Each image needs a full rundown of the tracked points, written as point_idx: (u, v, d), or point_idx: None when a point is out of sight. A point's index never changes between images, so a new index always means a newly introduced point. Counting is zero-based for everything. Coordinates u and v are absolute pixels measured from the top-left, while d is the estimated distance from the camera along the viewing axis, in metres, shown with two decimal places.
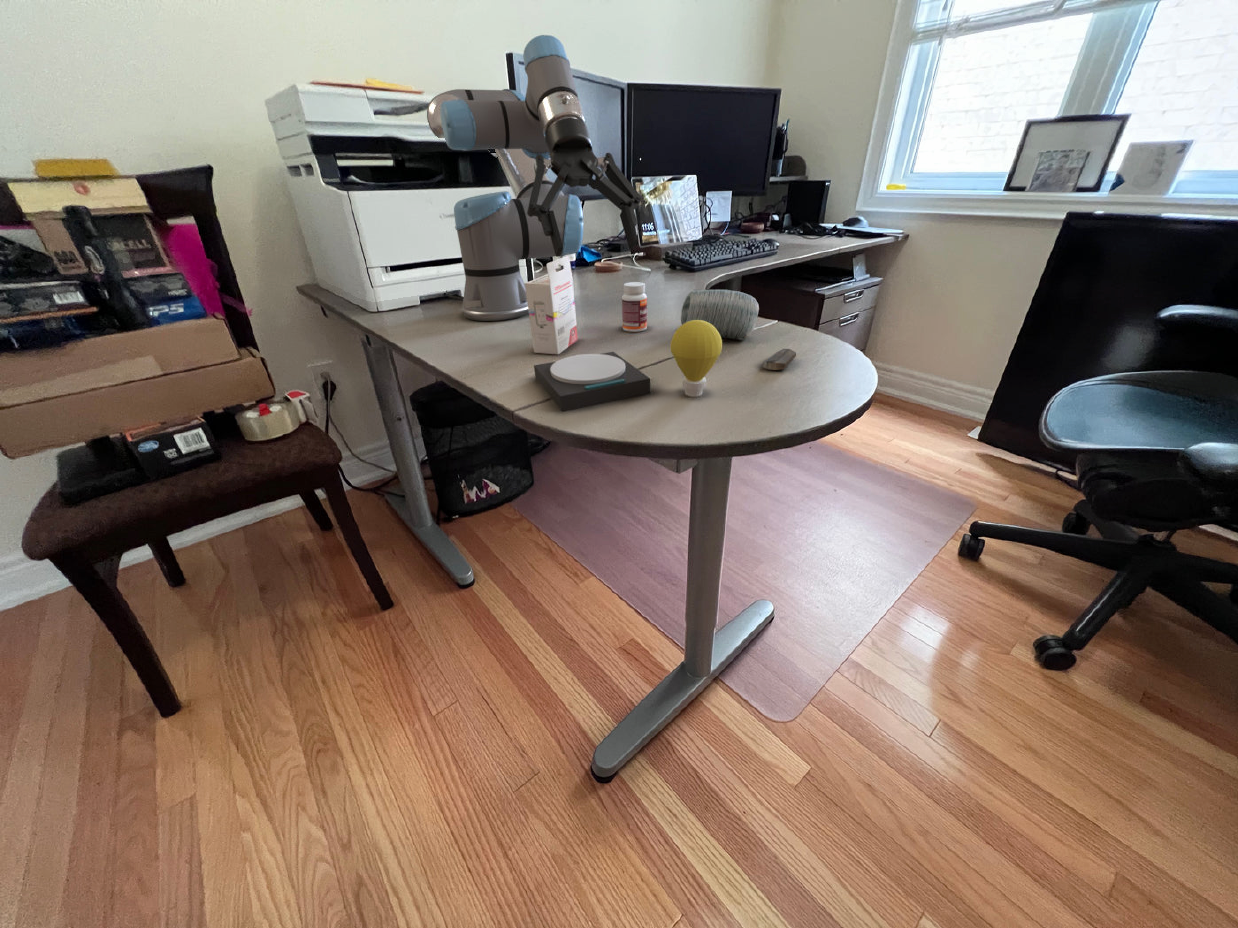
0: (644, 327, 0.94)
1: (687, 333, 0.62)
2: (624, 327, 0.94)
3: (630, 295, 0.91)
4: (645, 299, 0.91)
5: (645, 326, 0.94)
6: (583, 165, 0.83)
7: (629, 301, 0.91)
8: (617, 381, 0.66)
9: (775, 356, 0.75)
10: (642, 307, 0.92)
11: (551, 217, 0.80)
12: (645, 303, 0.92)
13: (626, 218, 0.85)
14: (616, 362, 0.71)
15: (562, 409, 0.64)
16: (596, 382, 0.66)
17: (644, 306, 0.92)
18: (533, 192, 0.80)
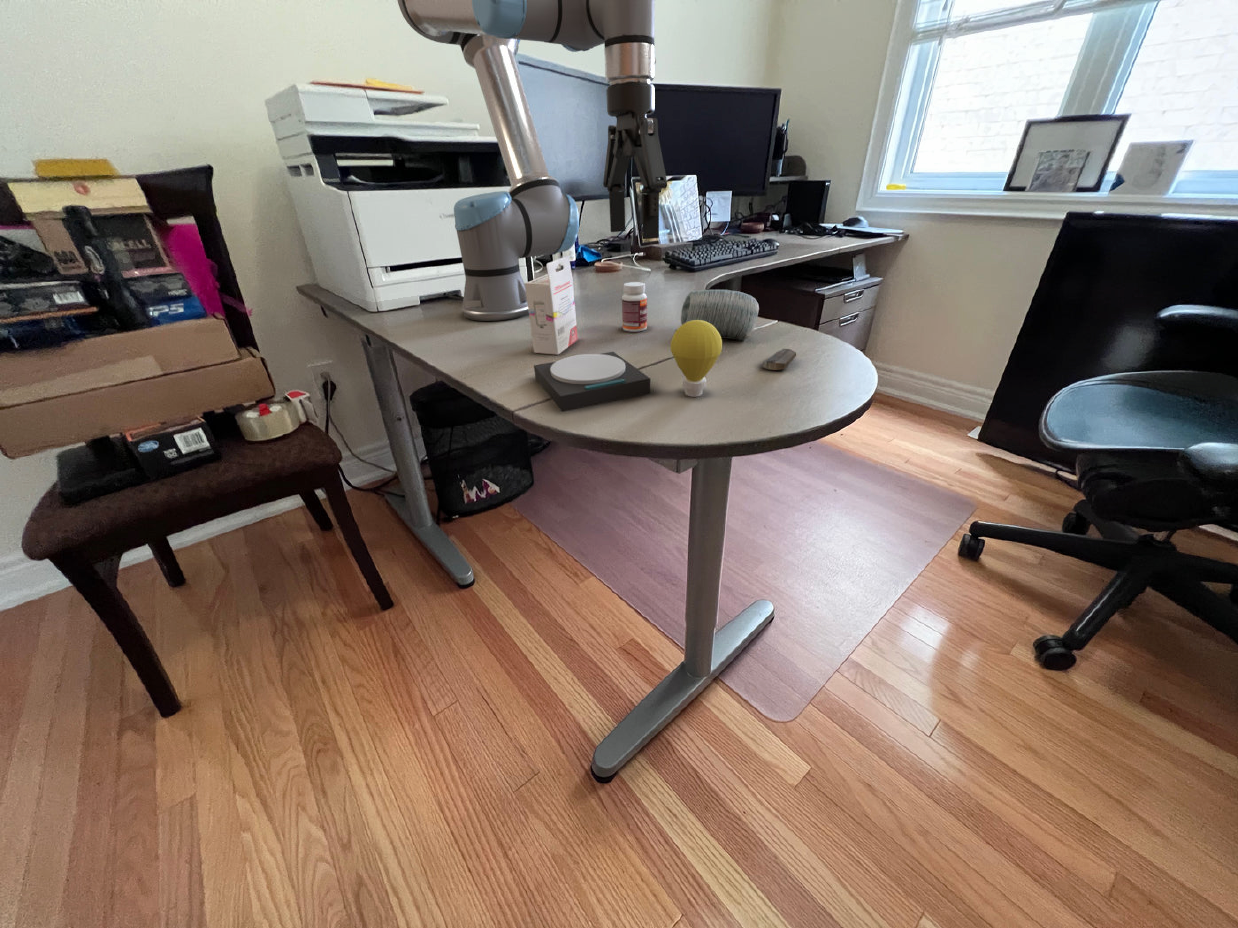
0: (644, 327, 0.94)
1: (687, 333, 0.62)
2: (624, 327, 0.94)
3: (630, 295, 0.91)
4: (645, 299, 0.91)
5: (645, 326, 0.94)
6: None
7: (629, 301, 0.91)
8: (617, 381, 0.66)
9: (775, 356, 0.75)
10: (642, 307, 0.92)
11: None
12: (645, 303, 0.92)
13: (621, 204, 0.90)
14: (616, 362, 0.71)
15: (562, 409, 0.64)
16: (596, 382, 0.66)
17: (644, 306, 0.92)
18: None
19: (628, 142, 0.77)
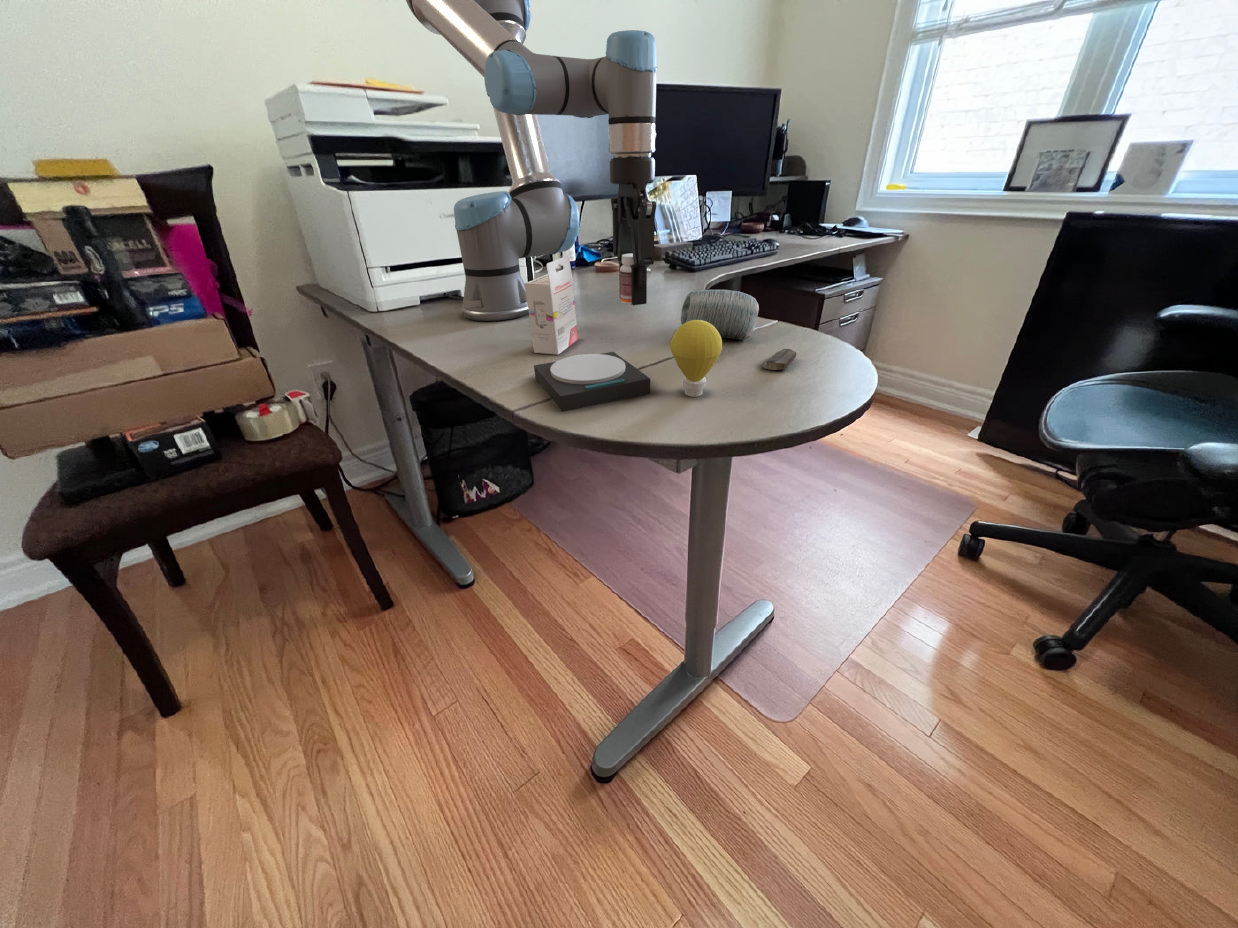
0: None
1: (687, 333, 0.62)
2: (622, 300, 0.92)
3: (628, 266, 0.88)
4: None
5: None
6: None
7: (627, 273, 0.88)
8: (617, 381, 0.66)
9: (775, 356, 0.75)
10: None
11: None
12: None
13: None
14: (616, 362, 0.71)
15: (562, 409, 0.64)
16: (596, 382, 0.66)
17: None
18: None
19: (628, 213, 0.83)
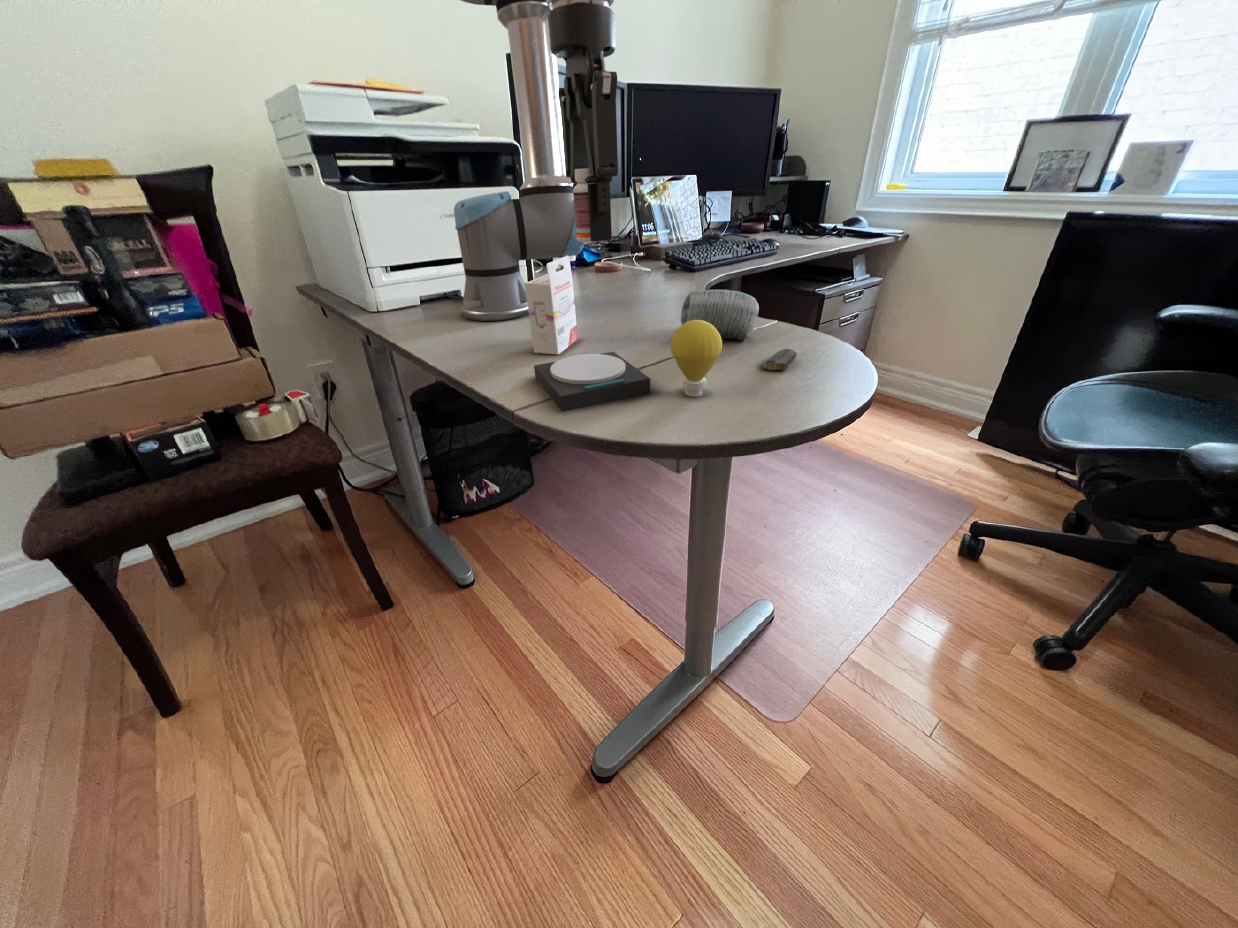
0: None
1: (687, 333, 0.62)
2: (578, 236, 0.65)
3: (584, 184, 0.62)
4: None
5: None
6: None
7: (583, 193, 0.62)
8: (617, 381, 0.66)
9: (775, 356, 0.75)
10: None
11: (609, 193, 0.62)
12: None
13: None
14: (616, 362, 0.71)
15: (562, 409, 0.64)
16: (596, 382, 0.66)
17: None
18: None
19: (578, 98, 0.57)
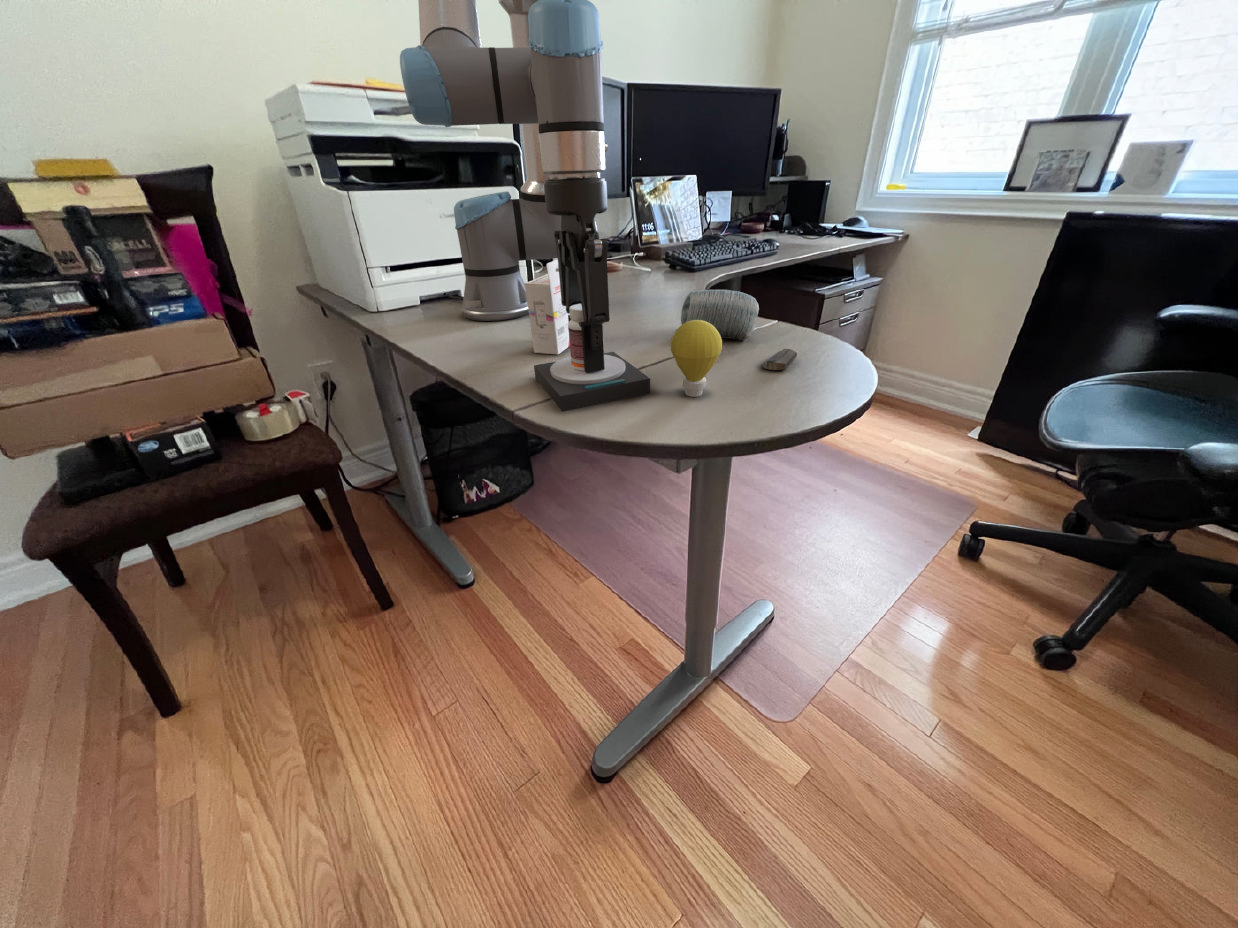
0: None
1: (687, 333, 0.62)
2: (573, 364, 0.69)
3: None
4: None
5: None
6: None
7: (577, 331, 0.66)
8: (617, 381, 0.66)
9: (776, 356, 0.75)
10: None
11: (602, 331, 0.66)
12: None
13: None
14: (616, 362, 0.71)
15: (562, 409, 0.64)
16: (596, 382, 0.66)
17: None
18: None
19: (572, 254, 0.60)
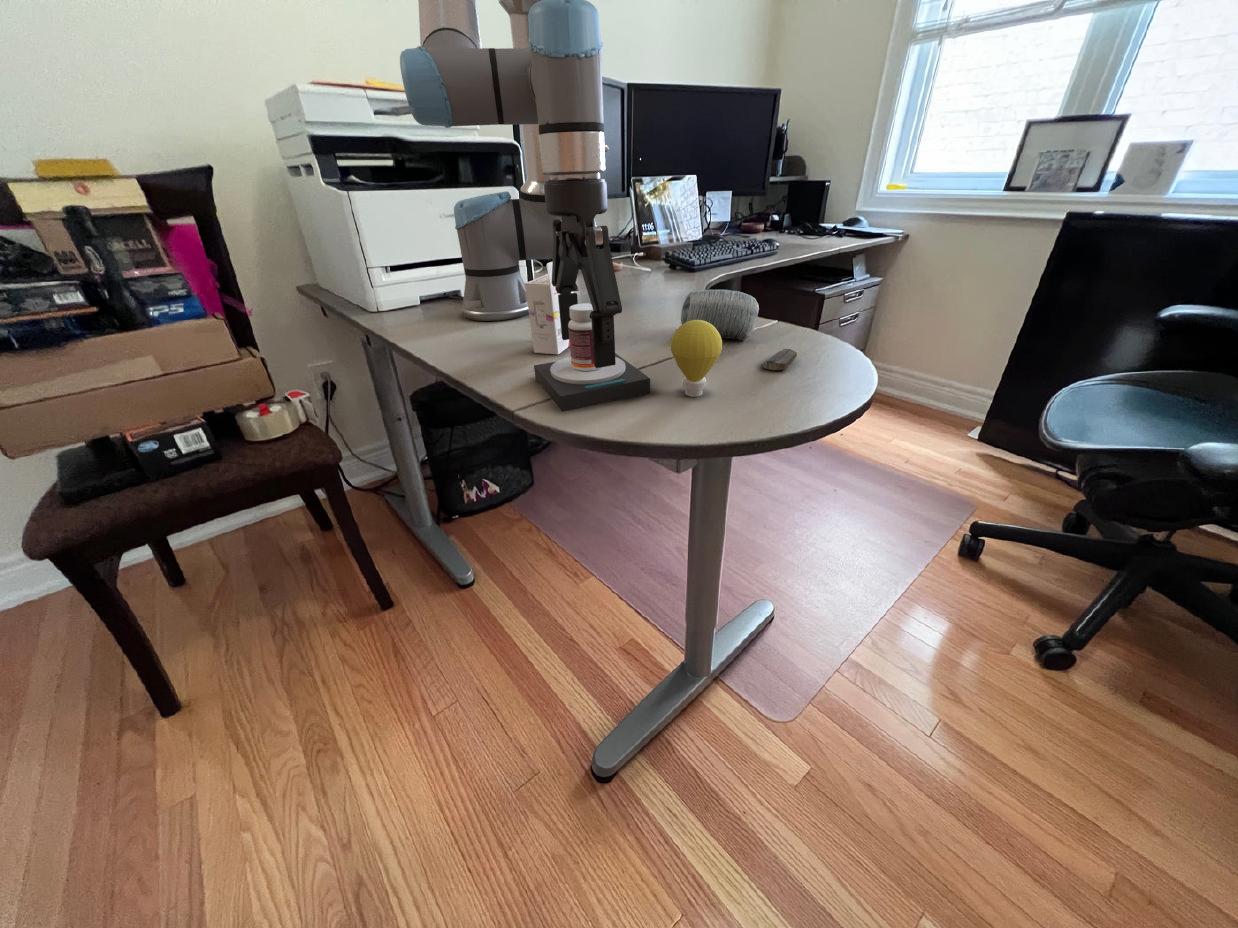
0: None
1: (687, 333, 0.62)
2: (573, 364, 0.69)
3: (578, 322, 0.66)
4: None
5: None
6: None
7: (577, 331, 0.66)
8: (617, 381, 0.66)
9: (776, 356, 0.75)
10: None
11: (613, 323, 0.61)
12: None
13: None
14: (616, 362, 0.71)
15: (562, 409, 0.64)
16: (596, 382, 0.66)
17: None
18: None
19: (573, 251, 0.60)
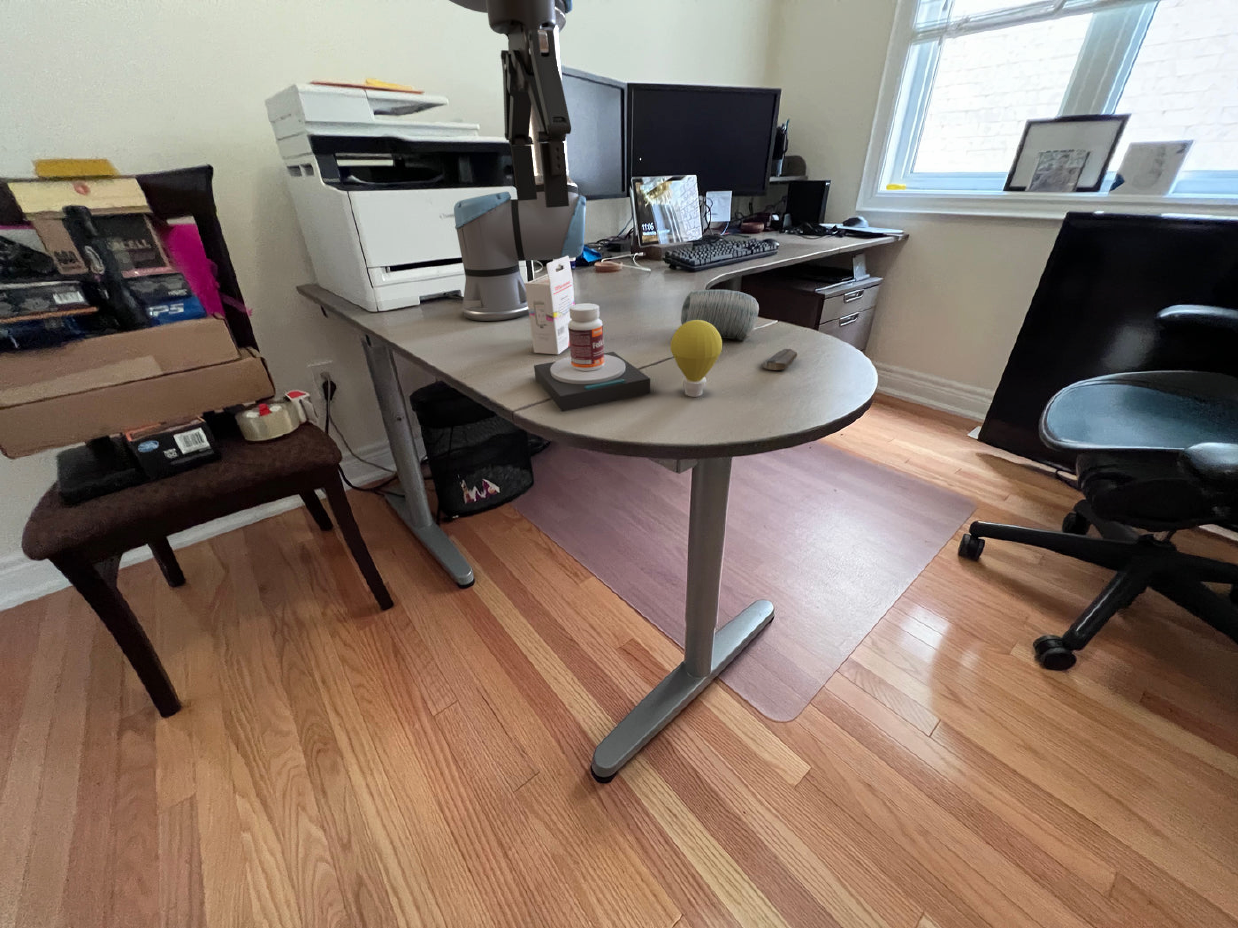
0: (600, 364, 0.69)
1: (687, 333, 0.62)
2: (573, 364, 0.69)
3: (578, 322, 0.66)
4: (599, 327, 0.66)
5: (601, 363, 0.69)
6: None
7: (577, 331, 0.66)
8: (617, 381, 0.66)
9: (776, 356, 0.75)
10: (596, 338, 0.67)
11: (564, 154, 0.57)
12: (600, 333, 0.67)
13: (529, 162, 0.68)
14: (616, 362, 0.71)
15: (562, 409, 0.64)
16: (596, 382, 0.66)
17: (598, 337, 0.67)
18: None
19: (519, 69, 0.55)
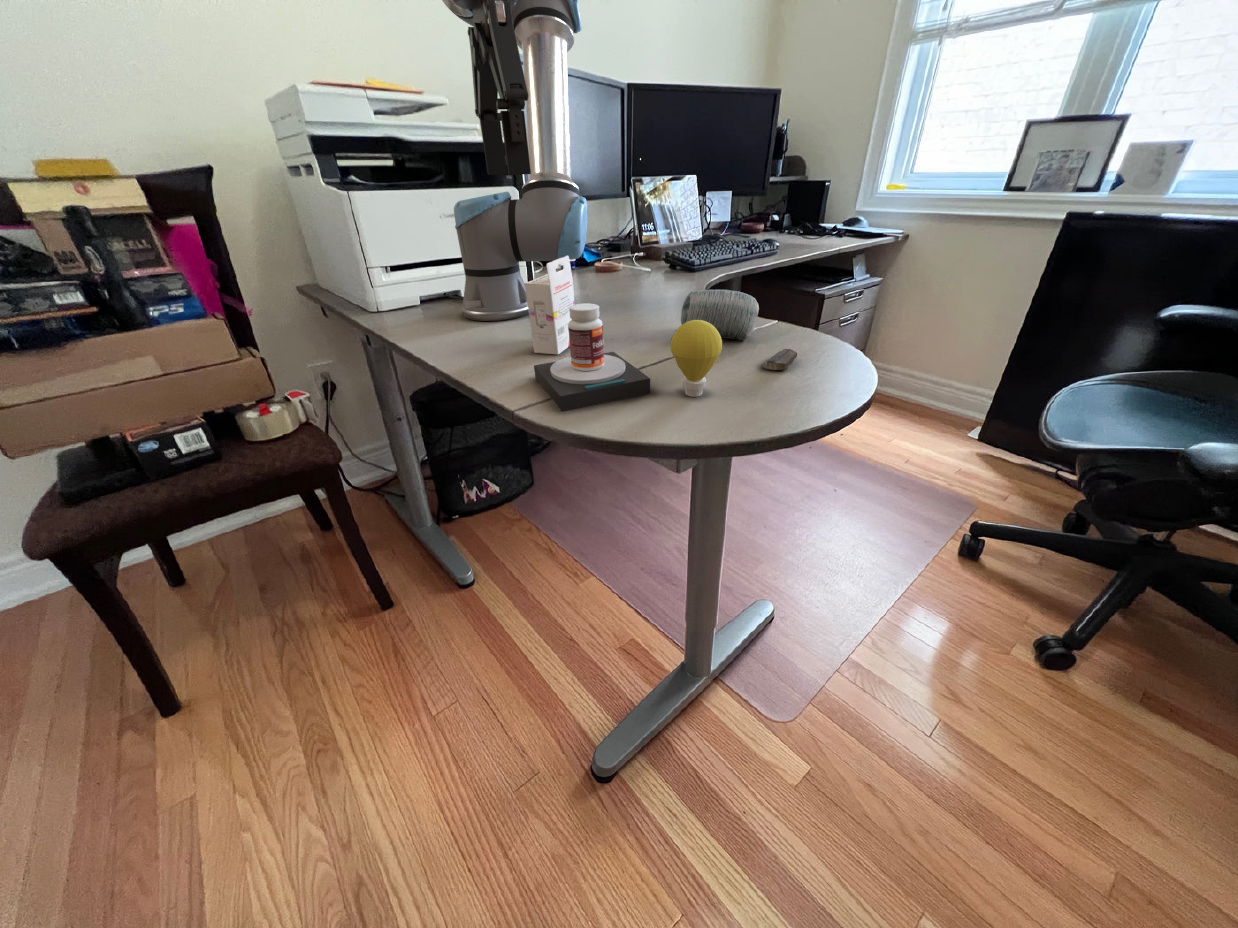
0: (600, 364, 0.69)
1: (687, 333, 0.62)
2: (573, 364, 0.69)
3: (578, 322, 0.66)
4: (599, 327, 0.66)
5: (601, 363, 0.69)
6: None
7: (577, 331, 0.66)
8: (617, 381, 0.66)
9: (776, 356, 0.75)
10: (596, 338, 0.67)
11: (524, 122, 0.59)
12: (600, 333, 0.67)
13: (498, 138, 0.70)
14: (616, 362, 0.71)
15: (562, 409, 0.64)
16: (596, 382, 0.66)
17: (598, 337, 0.67)
18: (522, 72, 0.55)
19: (481, 40, 0.57)
